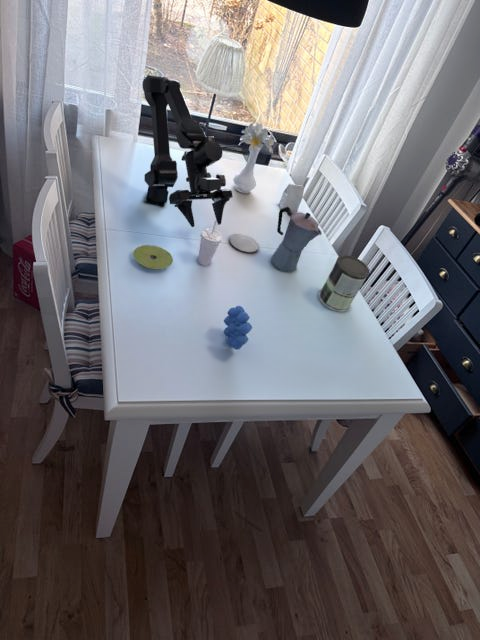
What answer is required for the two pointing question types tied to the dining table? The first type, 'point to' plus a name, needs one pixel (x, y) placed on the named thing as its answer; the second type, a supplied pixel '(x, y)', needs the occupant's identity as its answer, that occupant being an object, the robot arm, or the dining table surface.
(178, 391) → the dining table surface
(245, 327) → the grapes
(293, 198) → the white carton
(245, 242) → the disc
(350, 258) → the coffee can
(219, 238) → the smoothie
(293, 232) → the moka pot
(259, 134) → the flower vase
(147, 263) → the green grainy disc
